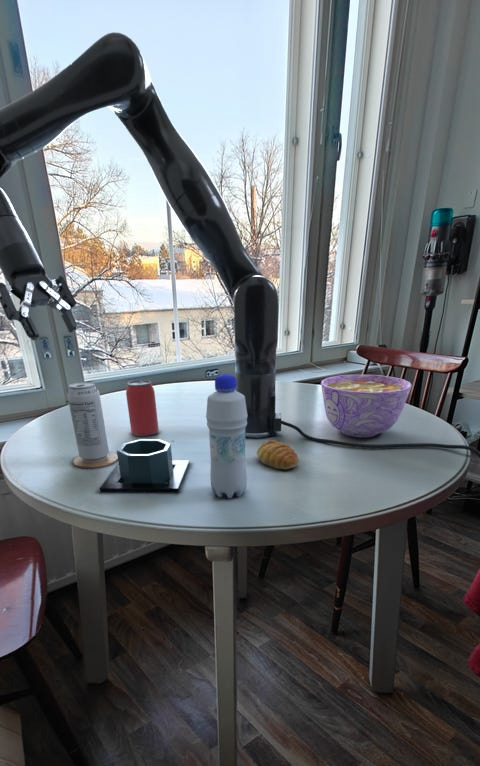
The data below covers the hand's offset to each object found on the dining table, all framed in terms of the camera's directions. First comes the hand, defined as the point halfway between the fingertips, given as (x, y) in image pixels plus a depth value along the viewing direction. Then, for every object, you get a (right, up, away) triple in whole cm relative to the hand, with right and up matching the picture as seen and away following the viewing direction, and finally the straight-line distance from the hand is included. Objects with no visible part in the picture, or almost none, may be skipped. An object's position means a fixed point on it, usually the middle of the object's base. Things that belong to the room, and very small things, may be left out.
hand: (55, 334), depth 92 cm
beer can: (+14, -16, +20) cm, 29 cm away
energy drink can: (+7, -25, +4) cm, 26 cm away
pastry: (+45, -26, +1) cm, 52 cm away
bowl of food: (+66, -16, +17) cm, 70 cm away
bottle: (+35, -33, -12) cm, 50 cm away
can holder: (+20, -29, -5) cm, 36 cm away
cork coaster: (+7, -25, +4) cm, 26 cm away
